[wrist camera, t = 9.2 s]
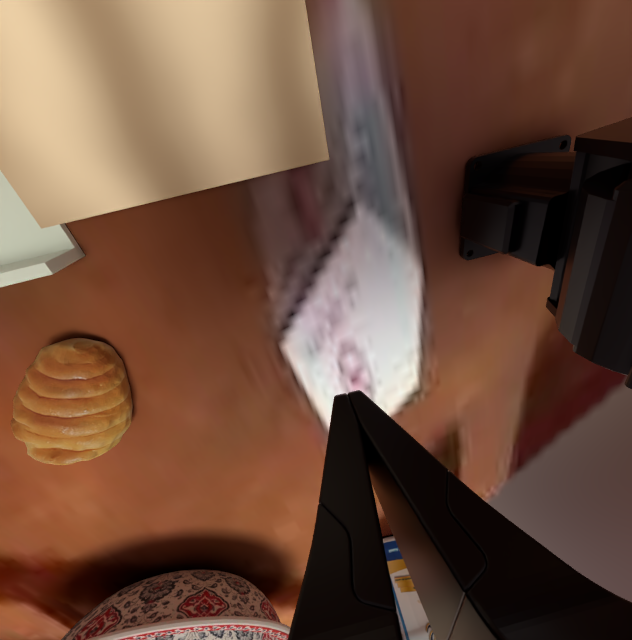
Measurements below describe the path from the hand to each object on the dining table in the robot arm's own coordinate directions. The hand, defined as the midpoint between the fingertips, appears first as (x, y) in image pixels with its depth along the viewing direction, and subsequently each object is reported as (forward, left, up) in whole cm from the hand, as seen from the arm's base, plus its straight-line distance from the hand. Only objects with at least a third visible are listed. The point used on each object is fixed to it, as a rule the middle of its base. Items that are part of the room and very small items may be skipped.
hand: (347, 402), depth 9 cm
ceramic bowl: (+26, +40, -12) cm, 49 cm away
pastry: (+18, +5, -12) cm, 22 cm away
